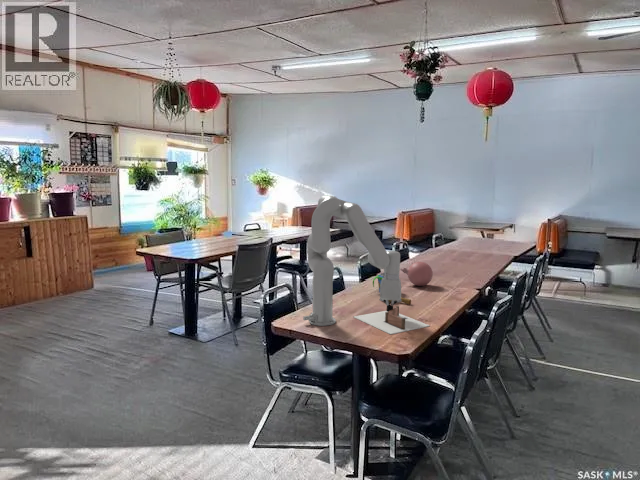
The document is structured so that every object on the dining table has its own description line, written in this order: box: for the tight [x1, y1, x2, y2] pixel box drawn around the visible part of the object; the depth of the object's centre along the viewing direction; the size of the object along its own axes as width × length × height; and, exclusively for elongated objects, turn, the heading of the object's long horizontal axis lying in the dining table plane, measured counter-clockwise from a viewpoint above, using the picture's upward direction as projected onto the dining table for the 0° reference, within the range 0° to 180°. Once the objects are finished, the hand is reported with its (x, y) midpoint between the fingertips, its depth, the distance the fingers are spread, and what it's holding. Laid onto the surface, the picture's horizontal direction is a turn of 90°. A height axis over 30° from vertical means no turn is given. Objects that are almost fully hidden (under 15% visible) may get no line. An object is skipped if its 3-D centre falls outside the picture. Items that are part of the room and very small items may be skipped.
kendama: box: [389, 297, 412, 306], centre depth 260 cm, size 8×6×18 cm
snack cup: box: [372, 273, 383, 293], centre depth 280 cm, size 16×10×10 cm
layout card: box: [353, 310, 430, 335], centre depth 226 cm, size 23×29×1 cm
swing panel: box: [388, 305, 400, 316], centre depth 229 cm, size 11×2×4 cm, turn 147°
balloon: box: [400, 261, 433, 287], centre depth 298 cm, size 15×20×15 cm
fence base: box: [385, 312, 405, 329], centre depth 219 cm, size 2×13×5 cm, turn 30°
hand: (389, 312), depth 233 cm, fingers closed
